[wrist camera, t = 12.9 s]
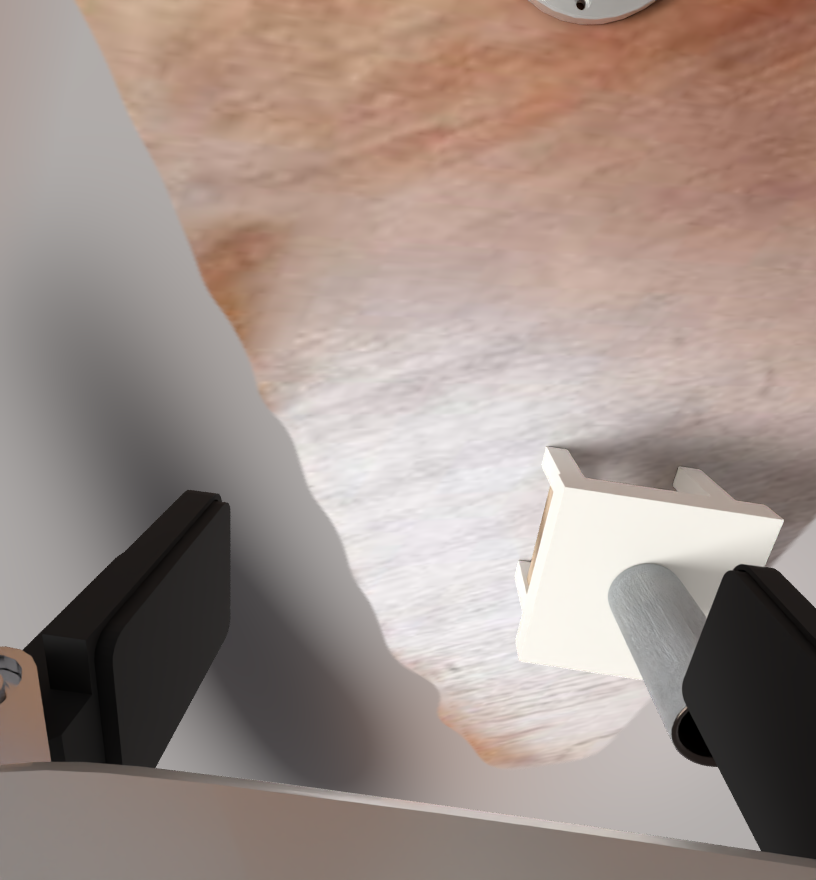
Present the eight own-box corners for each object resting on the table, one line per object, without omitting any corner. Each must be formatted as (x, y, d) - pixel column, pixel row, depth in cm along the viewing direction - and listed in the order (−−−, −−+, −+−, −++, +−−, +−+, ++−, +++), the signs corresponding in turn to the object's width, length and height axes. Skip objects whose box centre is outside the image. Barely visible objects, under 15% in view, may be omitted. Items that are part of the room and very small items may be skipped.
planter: (697, 589, 34) (799, 728, 24) (642, 635, 35) (719, 783, 26) (644, 548, 33) (728, 675, 24) (591, 597, 35) (650, 734, 25)
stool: (539, 436, 41) (564, 487, 32) (712, 462, 40) (784, 520, 32) (504, 582, 45) (518, 661, 37) (660, 606, 45) (711, 690, 36)
